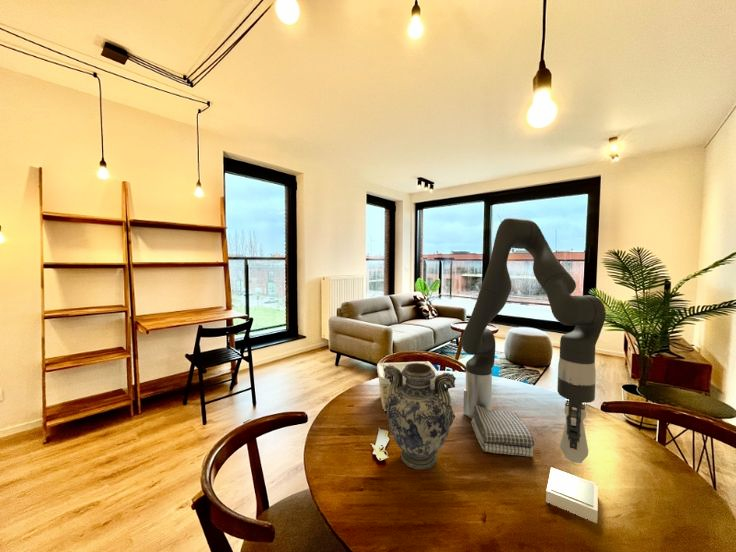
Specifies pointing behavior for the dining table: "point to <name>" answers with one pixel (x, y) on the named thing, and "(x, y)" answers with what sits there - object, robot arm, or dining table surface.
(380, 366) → the cream box
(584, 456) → the salt shaker
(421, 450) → the decorative vase
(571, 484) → the pedestal
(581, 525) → the dining table surface
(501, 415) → the towel
